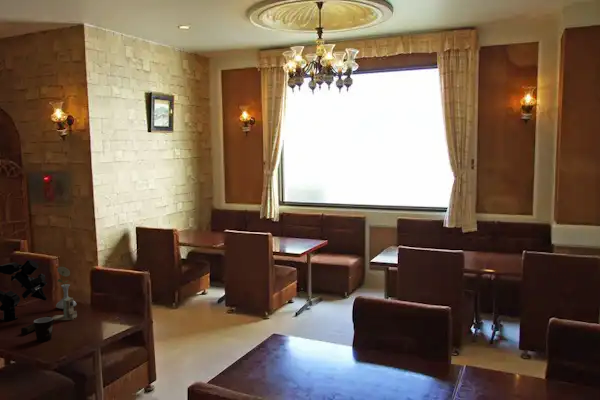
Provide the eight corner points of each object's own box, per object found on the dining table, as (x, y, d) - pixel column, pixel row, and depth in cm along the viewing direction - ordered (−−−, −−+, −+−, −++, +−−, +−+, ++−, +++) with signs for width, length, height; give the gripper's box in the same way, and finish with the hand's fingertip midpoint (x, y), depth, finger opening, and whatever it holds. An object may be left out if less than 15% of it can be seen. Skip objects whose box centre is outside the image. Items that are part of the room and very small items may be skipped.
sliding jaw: (62, 317, 278) (61, 300, 277) (66, 314, 284) (66, 297, 283) (66, 317, 278) (65, 300, 277) (71, 314, 284) (70, 297, 283)
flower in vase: (80, 306, 303) (79, 266, 301) (63, 311, 294) (61, 269, 291) (67, 303, 310) (66, 263, 308) (50, 308, 301) (48, 267, 298)
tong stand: (50, 320, 278) (49, 301, 277) (55, 316, 284) (54, 297, 283) (72, 319, 278) (71, 300, 278) (76, 316, 284) (76, 297, 284)
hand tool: (26, 335, 255) (26, 326, 254) (20, 334, 256) (20, 325, 256) (55, 324, 273) (55, 315, 272) (49, 323, 274) (49, 314, 274)
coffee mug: (40, 344, 243) (39, 324, 242) (30, 340, 247) (30, 321, 246) (63, 336, 252) (62, 317, 252) (53, 333, 257) (52, 314, 256)
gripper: (27, 274, 269) (48, 294, 270) (43, 266, 288) (63, 285, 289) (12, 288, 269) (34, 308, 271) (29, 280, 288) (49, 298, 289)
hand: (46, 299), depth 280 cm, fingers closed
